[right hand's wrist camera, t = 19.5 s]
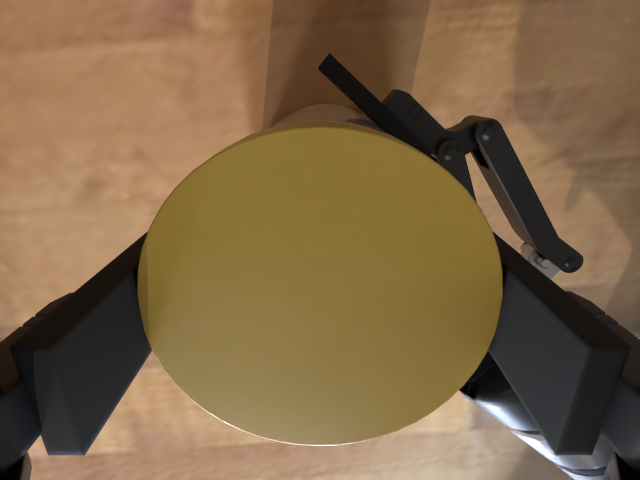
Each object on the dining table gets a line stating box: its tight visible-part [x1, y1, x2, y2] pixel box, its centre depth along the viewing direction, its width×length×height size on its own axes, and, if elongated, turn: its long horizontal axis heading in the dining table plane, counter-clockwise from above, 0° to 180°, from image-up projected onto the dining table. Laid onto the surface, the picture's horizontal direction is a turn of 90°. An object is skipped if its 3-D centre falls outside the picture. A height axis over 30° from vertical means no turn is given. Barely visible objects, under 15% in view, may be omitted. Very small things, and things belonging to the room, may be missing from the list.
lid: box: [137, 121, 503, 446], centre depth 11 cm, size 10×10×2 cm
